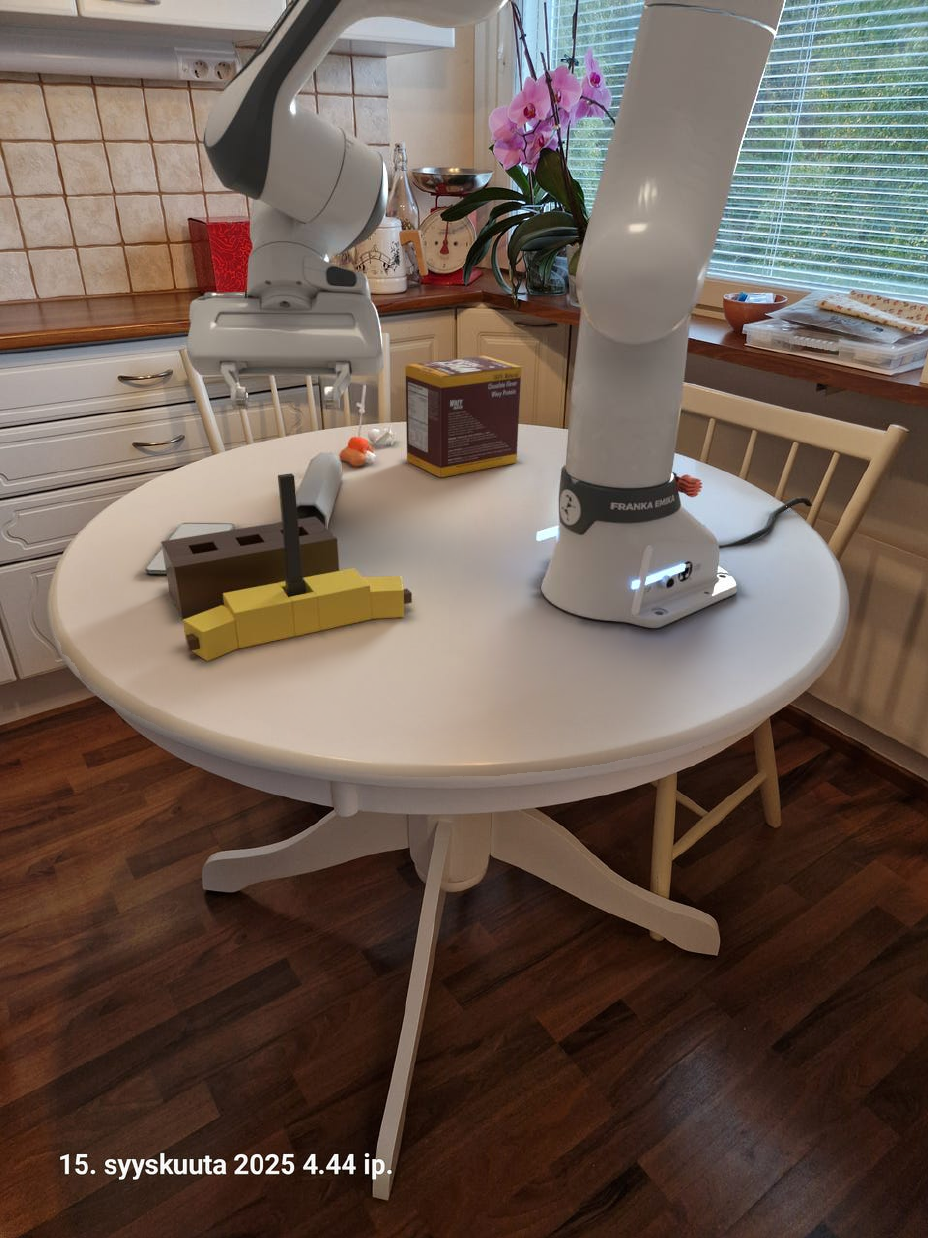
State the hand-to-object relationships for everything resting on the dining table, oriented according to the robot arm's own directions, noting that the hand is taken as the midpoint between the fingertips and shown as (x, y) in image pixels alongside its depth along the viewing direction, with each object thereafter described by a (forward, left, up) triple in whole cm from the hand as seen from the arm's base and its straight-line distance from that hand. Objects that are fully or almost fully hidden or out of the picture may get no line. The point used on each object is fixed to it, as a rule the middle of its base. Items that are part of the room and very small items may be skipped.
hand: (285, 406), depth 84 cm
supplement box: (-38, -32, -20) cm, 54 cm away
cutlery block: (+5, 0, -20) cm, 21 cm away
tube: (-10, -22, -20) cm, 32 cm away
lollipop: (-23, -40, -20) cm, 51 cm away
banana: (+3, +10, -20) cm, 22 cm away
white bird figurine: (-30, -47, -20) cm, 59 cm away
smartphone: (+9, -14, -20) cm, 26 cm away
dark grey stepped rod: (+3, +10, -20) cm, 22 cm away
